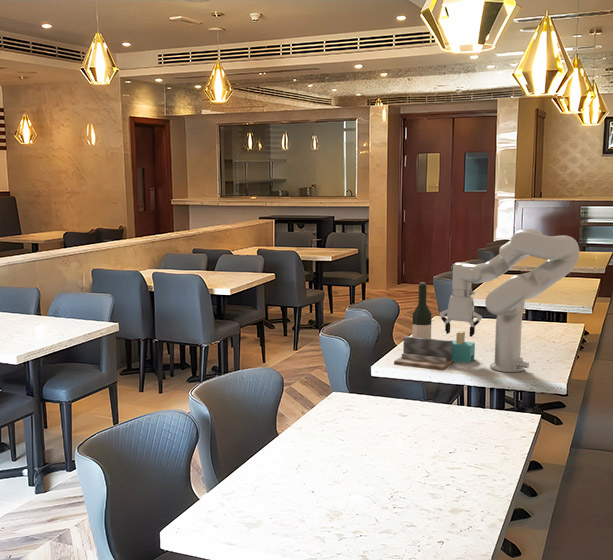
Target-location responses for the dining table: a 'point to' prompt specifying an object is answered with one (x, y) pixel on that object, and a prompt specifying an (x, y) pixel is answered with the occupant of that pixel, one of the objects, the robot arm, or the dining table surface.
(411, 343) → the wall board
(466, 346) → the teal block
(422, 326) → the wine bottle
